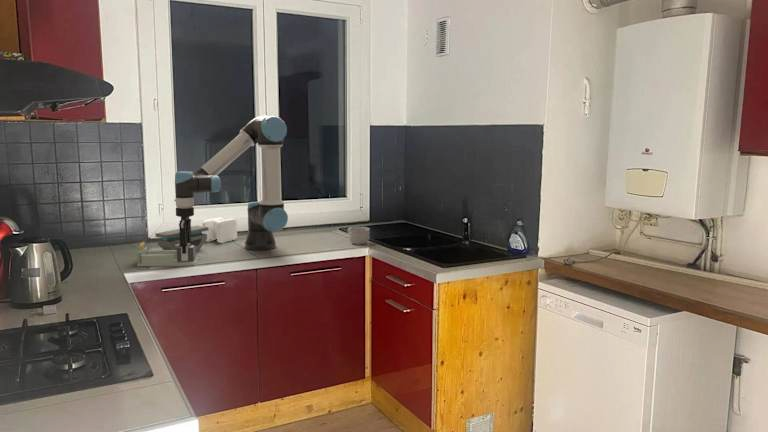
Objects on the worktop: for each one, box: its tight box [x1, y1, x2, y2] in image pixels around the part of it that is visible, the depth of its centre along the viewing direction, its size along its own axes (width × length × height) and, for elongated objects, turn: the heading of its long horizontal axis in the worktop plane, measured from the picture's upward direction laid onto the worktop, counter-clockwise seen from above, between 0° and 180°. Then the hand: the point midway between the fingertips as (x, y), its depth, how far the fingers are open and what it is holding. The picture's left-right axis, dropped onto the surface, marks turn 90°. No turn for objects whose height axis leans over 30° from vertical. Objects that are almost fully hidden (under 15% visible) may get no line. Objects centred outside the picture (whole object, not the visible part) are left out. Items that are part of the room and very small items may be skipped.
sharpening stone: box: [154, 225, 209, 253], centre depth 284 cm, size 25×8×11 cm, turn 151°
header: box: [136, 241, 201, 267], centre depth 264 cm, size 24×12×9 cm, turn 97°
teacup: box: [347, 226, 371, 246], centre depth 312 cm, size 14×11×8 cm
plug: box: [177, 245, 197, 262], centre depth 265 cm, size 7×5×6 cm
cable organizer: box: [202, 217, 238, 244], centre depth 312 cm, size 15×11×12 cm
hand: (186, 258), depth 265 cm, fingers closed on plug, 5 cm apart
